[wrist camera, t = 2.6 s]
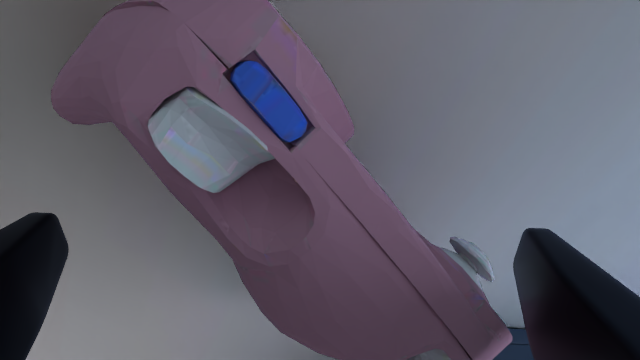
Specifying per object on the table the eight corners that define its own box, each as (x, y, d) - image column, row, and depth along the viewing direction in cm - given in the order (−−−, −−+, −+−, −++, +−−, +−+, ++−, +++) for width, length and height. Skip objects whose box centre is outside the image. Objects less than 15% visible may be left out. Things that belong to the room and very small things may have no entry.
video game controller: (413, 225, 15) (604, 372, 9) (305, 324, 15) (425, 544, 9) (197, -60, 11) (283, -152, 5) (37, 74, 11) (-100, 166, 4)
